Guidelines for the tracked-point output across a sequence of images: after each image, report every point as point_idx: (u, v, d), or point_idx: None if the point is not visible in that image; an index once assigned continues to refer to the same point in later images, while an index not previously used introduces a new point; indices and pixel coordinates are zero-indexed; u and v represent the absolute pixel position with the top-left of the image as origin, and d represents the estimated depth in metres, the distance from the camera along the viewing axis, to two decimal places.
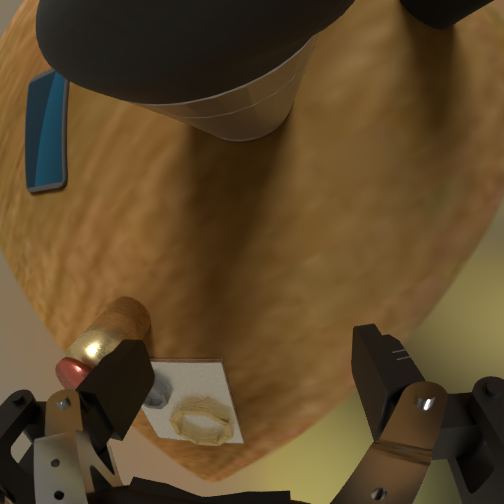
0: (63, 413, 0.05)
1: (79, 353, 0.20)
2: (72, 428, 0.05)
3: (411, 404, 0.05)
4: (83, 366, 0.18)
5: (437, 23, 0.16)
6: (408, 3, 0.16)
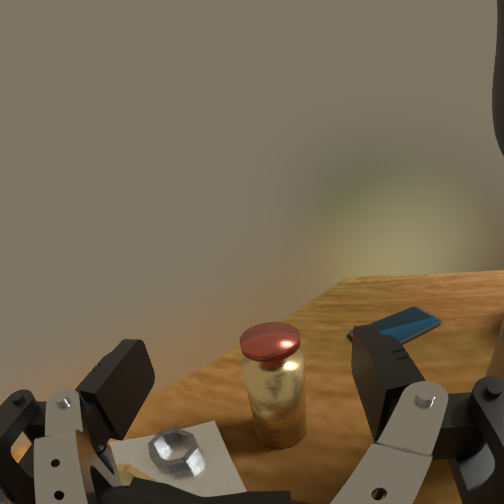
0: (63, 413, 0.05)
1: None
2: (72, 428, 0.05)
3: (411, 404, 0.05)
4: (299, 343, 0.21)
5: None
6: None
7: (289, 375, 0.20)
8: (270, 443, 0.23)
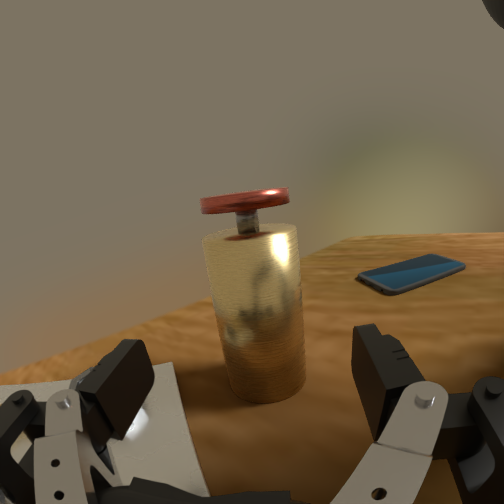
0: (63, 413, 0.05)
1: (277, 226, 0.16)
2: (72, 428, 0.05)
3: (411, 404, 0.05)
4: (287, 197, 0.14)
5: None
6: None
7: (274, 242, 0.14)
8: (248, 392, 0.16)
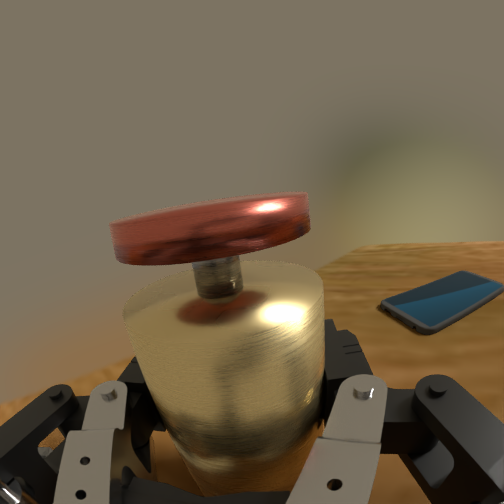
0: (106, 406, 0.06)
1: (282, 273, 0.08)
2: (113, 424, 0.05)
3: (347, 394, 0.06)
4: (308, 217, 0.06)
5: None
6: None
7: (274, 339, 0.05)
8: None
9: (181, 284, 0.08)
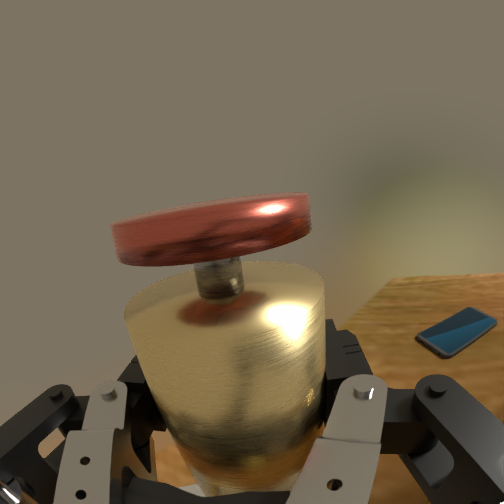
0: (106, 406, 0.06)
1: (283, 273, 0.08)
2: (113, 424, 0.05)
3: (347, 394, 0.06)
4: (309, 218, 0.06)
5: None
6: None
7: (275, 340, 0.05)
8: None
9: (182, 285, 0.08)
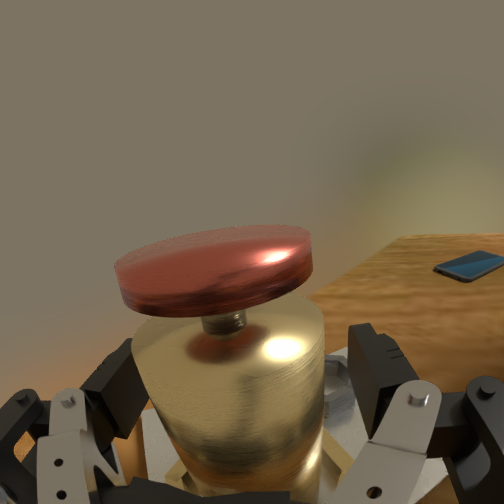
0: (67, 412, 0.05)
1: (284, 305, 0.08)
2: (77, 427, 0.05)
3: (404, 402, 0.05)
4: (310, 261, 0.06)
5: None
6: None
7: (277, 381, 0.05)
8: None
9: None
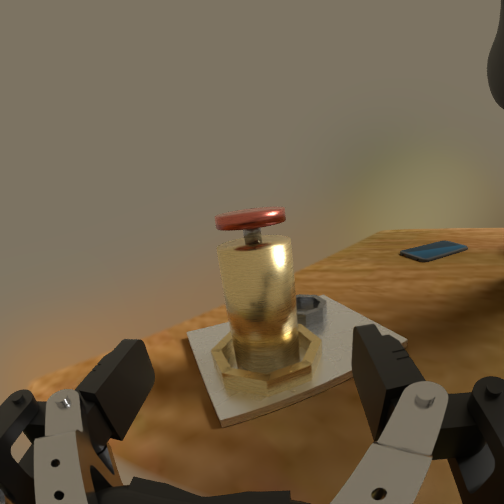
0: (63, 413, 0.05)
1: (276, 238, 0.21)
2: (72, 428, 0.05)
3: (411, 404, 0.05)
4: (284, 216, 0.19)
5: None
6: None
7: (273, 252, 0.18)
8: (253, 371, 0.20)
9: (236, 243, 0.21)
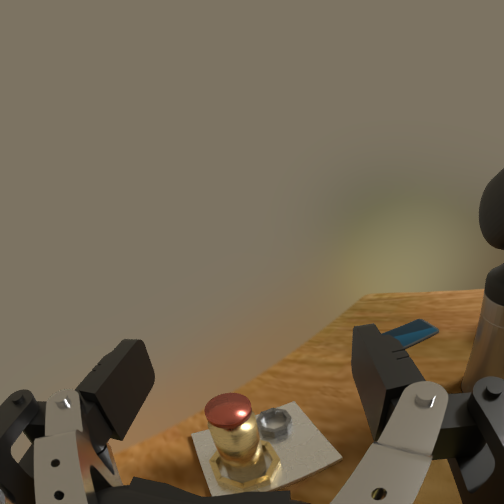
0: (63, 413, 0.05)
1: None
2: (72, 428, 0.05)
3: (411, 404, 0.05)
4: (249, 414, 0.25)
5: None
6: None
7: (242, 437, 0.24)
8: (234, 477, 0.26)
9: None
